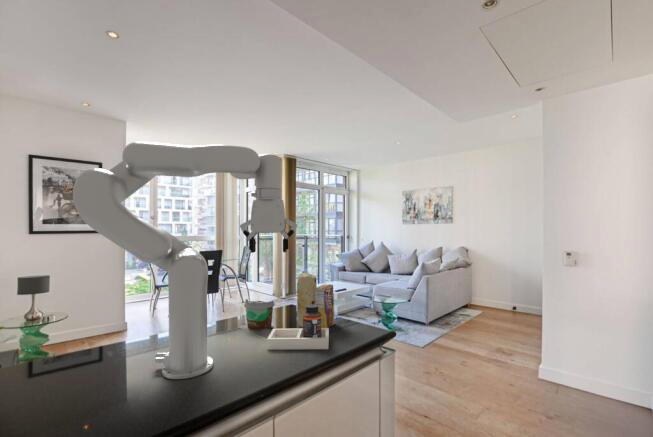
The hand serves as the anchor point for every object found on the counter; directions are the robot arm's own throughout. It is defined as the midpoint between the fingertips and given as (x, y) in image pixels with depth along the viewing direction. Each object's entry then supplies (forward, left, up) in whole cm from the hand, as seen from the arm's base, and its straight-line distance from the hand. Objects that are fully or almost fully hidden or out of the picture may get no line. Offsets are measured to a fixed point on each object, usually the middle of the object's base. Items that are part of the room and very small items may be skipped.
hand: (269, 252), depth 94 cm
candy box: (+16, +25, -31) cm, 43 cm away
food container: (-10, +24, -31) cm, 40 cm away
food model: (+9, +26, -31) cm, 41 cm away
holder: (+8, +8, -30) cm, 32 cm away
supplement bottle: (+12, +8, -30) cm, 33 cm away
